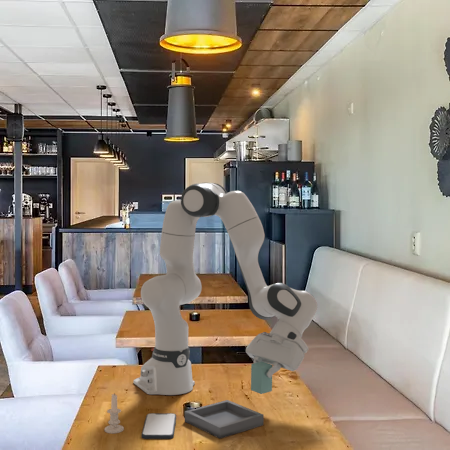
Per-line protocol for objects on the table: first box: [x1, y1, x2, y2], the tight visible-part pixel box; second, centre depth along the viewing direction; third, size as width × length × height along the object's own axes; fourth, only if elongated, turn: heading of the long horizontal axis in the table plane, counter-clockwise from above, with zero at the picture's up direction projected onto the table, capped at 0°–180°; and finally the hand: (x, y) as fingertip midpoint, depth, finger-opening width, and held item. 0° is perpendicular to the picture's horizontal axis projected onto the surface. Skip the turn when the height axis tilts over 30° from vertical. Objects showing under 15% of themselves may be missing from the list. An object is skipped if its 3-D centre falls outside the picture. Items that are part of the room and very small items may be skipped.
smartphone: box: [141, 412, 177, 440], centre depth 168 cm, size 9×2×16 cm
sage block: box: [250, 361, 273, 395], centre depth 181 cm, size 4×4×8 cm
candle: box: [104, 392, 125, 434], centre depth 166 cm, size 5×5×10 cm
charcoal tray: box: [184, 399, 265, 440], centre depth 172 cm, size 16×16×3 cm
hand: (260, 373), depth 181 cm, fingers closed on sage block, 4 cm apart
